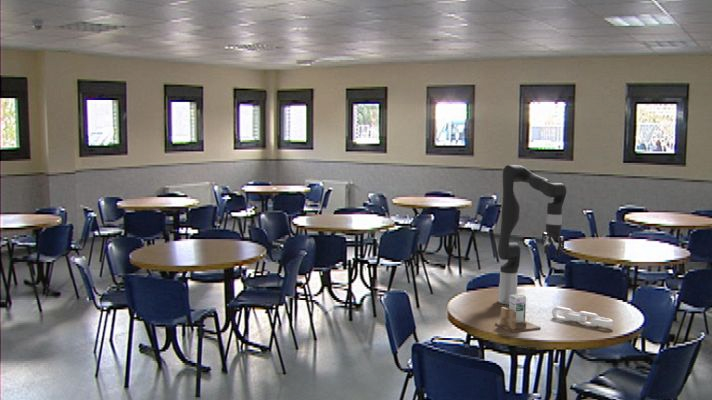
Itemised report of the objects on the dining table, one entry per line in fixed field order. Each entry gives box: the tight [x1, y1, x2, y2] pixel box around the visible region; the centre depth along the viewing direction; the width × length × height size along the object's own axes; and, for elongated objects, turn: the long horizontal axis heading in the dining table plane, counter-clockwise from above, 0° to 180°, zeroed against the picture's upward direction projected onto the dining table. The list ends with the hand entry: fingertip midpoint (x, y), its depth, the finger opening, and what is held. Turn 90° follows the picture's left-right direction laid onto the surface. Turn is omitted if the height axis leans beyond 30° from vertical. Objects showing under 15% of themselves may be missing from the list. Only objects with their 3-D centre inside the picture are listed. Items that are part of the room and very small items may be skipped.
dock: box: [494, 306, 541, 334], centre depth 332 cm, size 14×16×9 cm
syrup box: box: [508, 294, 527, 323], centre depth 331 cm, size 6×6×14 cm
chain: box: [551, 306, 614, 328], centre depth 341 cm, size 30×6×6 cm, turn 50°
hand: (552, 255), depth 346 cm, fingers open, 8 cm apart
